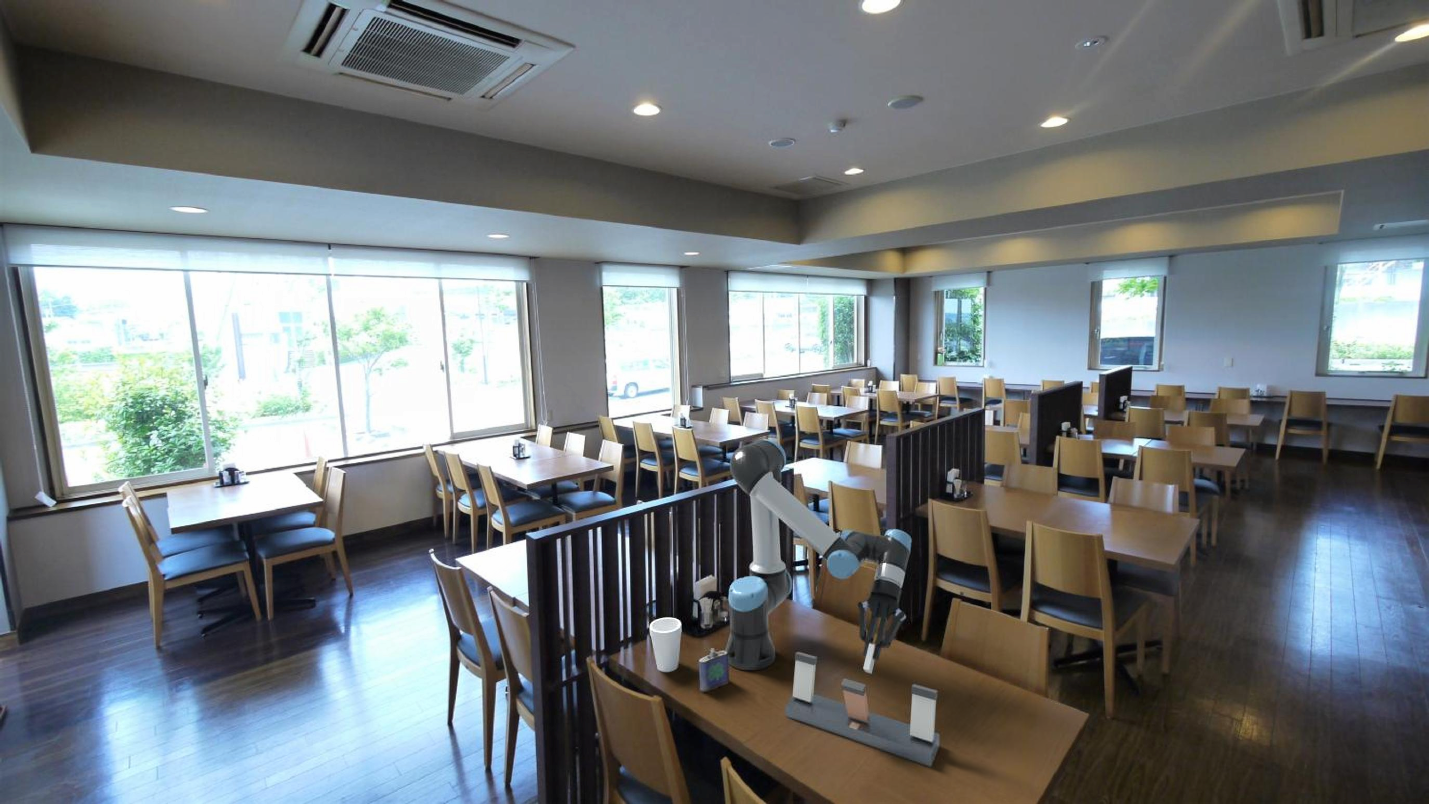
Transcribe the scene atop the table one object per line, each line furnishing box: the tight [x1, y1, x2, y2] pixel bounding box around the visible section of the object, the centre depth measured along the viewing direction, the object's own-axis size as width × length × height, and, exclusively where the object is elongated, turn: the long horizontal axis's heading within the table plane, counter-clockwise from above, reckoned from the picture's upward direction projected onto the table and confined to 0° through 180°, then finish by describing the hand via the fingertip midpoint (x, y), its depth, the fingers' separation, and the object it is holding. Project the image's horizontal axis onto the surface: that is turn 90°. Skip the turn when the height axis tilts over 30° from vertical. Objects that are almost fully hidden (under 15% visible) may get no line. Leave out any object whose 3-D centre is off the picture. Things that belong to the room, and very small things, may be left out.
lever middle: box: [840, 678, 870, 723], centre depth 142 cm, size 2×5×11 cm, turn 57°
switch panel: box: [784, 693, 940, 768], centre depth 144 cm, size 8×36×3 cm, turn 57°
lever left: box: [792, 651, 818, 702], centre depth 153 cm, size 2×5×11 cm, turn 57°
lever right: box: [909, 683, 938, 742], centre depth 137 cm, size 2×5×11 cm, turn 57°
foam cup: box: [649, 617, 683, 673], centre depth 176 cm, size 10×9×13 cm
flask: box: [698, 647, 730, 693], centre depth 165 cm, size 9×3×11 cm, turn 121°
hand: (867, 671), depth 150 cm, fingers closed
